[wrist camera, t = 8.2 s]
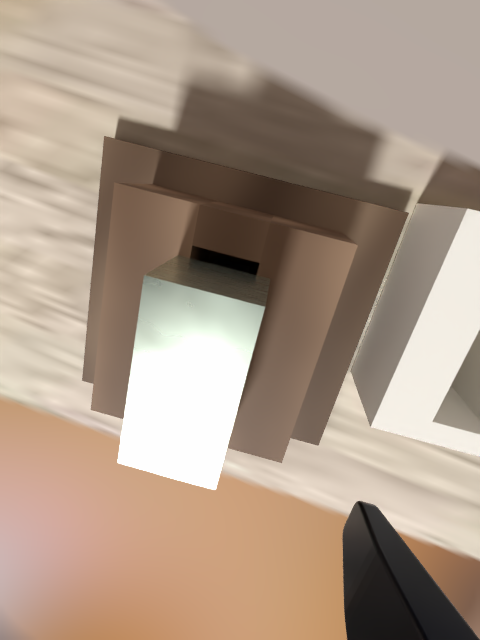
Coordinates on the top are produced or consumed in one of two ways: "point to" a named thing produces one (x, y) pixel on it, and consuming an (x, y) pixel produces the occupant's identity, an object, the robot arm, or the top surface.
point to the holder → (427, 334)
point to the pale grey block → (190, 366)
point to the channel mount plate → (264, 260)
